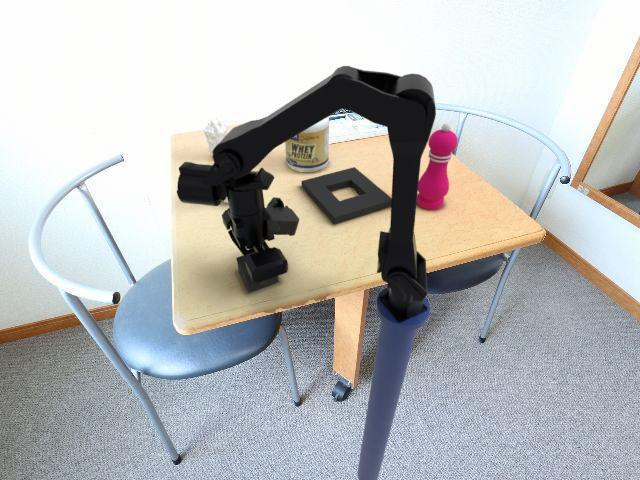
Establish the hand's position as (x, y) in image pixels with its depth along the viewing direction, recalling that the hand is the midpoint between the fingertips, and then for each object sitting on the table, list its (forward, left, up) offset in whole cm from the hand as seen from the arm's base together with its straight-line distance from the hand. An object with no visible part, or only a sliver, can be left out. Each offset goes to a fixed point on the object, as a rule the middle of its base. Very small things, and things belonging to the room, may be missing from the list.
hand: (258, 273), depth 70 cm
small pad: (0, 0, -1) cm, 1 cm away
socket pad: (+17, -29, -1) cm, 34 cm away
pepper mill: (+5, -46, -1) cm, 46 cm away
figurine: (+53, -7, -1) cm, 53 cm away
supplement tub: (+37, -28, -1) cm, 46 cm away
